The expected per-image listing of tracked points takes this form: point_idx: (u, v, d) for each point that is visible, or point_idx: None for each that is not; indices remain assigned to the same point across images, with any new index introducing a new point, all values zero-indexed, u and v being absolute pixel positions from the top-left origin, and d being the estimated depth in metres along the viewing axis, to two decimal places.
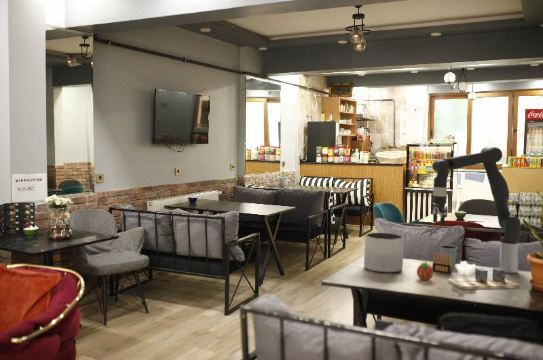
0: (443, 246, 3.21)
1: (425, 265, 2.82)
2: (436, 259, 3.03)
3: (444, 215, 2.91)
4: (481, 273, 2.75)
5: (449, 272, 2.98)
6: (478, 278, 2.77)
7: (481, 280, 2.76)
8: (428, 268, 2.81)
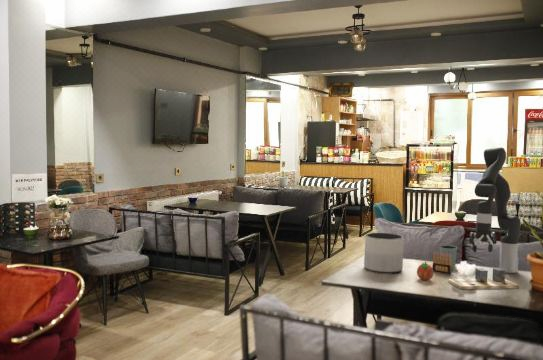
0: (443, 246, 3.21)
1: (425, 265, 2.82)
2: (436, 259, 3.03)
3: None
4: (481, 273, 2.75)
5: (449, 272, 2.98)
6: (478, 278, 2.77)
7: (481, 280, 2.76)
8: (428, 268, 2.81)
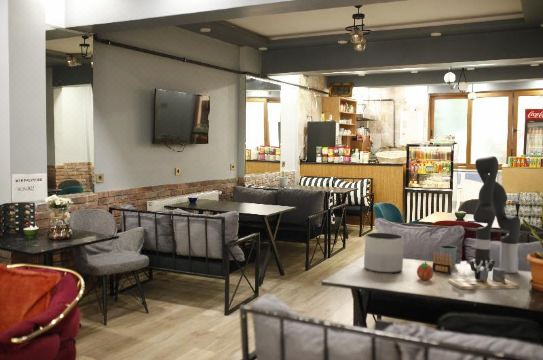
0: (443, 246, 3.21)
1: (425, 265, 2.82)
2: (436, 259, 3.03)
3: None
4: (481, 273, 2.75)
5: (449, 272, 2.98)
6: None
7: (481, 280, 2.76)
8: (428, 268, 2.81)
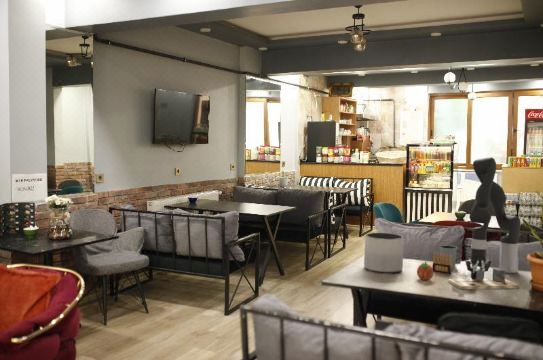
0: (443, 246, 3.21)
1: (425, 265, 2.82)
2: (436, 259, 3.03)
3: None
4: (477, 273, 2.75)
5: (449, 272, 2.98)
6: None
7: (477, 280, 2.75)
8: (428, 268, 2.81)
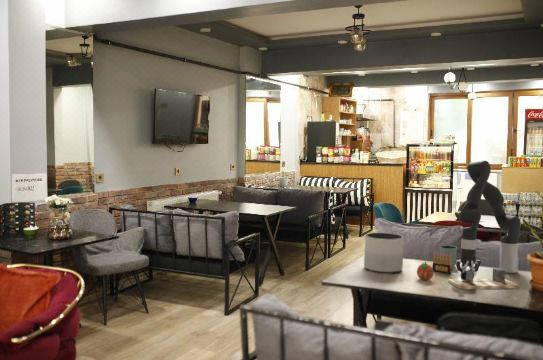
0: (443, 246, 3.21)
1: (425, 265, 2.82)
2: (436, 259, 3.03)
3: None
4: (467, 273, 2.74)
5: (449, 272, 2.98)
6: None
7: (467, 280, 2.75)
8: (428, 268, 2.81)
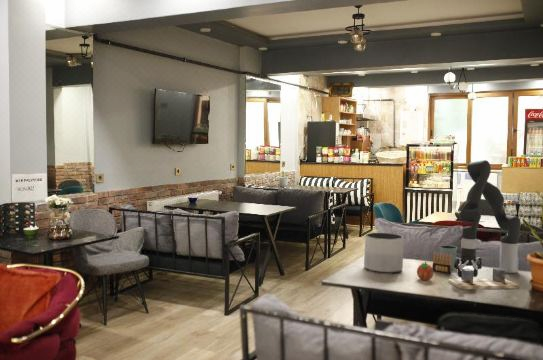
0: (443, 246, 3.21)
1: (425, 265, 2.82)
2: (436, 259, 3.03)
3: None
4: (467, 273, 2.74)
5: (449, 272, 2.98)
6: (464, 278, 2.76)
7: (467, 280, 2.75)
8: (428, 268, 2.81)
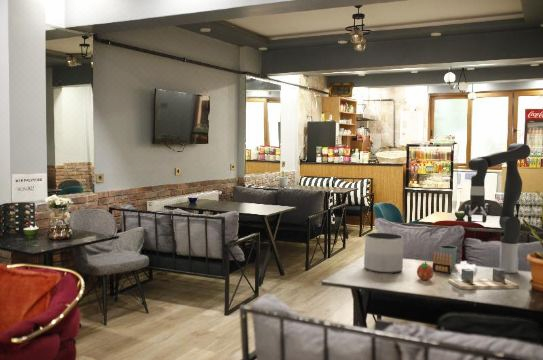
0: (443, 246, 3.21)
1: (425, 265, 2.82)
2: (436, 259, 3.03)
3: None
4: (467, 273, 2.74)
5: (449, 272, 2.98)
6: (464, 278, 2.76)
7: (467, 280, 2.75)
8: (428, 268, 2.81)
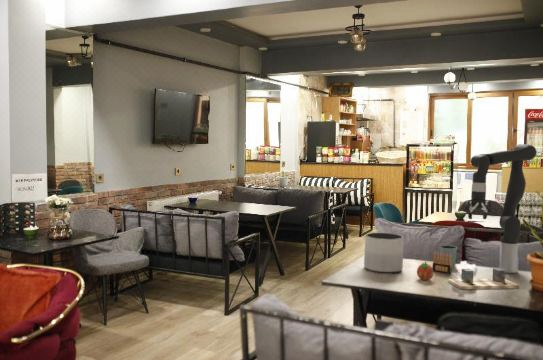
0: (443, 246, 3.21)
1: (425, 265, 2.82)
2: (436, 259, 3.03)
3: None
4: (467, 273, 2.74)
5: (449, 272, 2.98)
6: (464, 278, 2.76)
7: (467, 280, 2.75)
8: (428, 268, 2.81)
